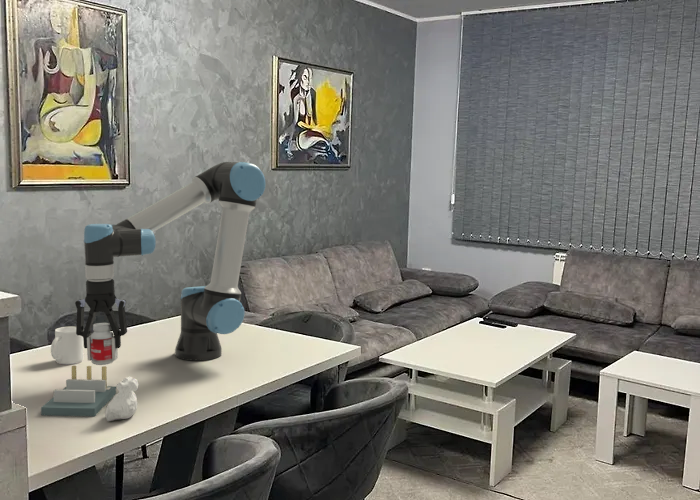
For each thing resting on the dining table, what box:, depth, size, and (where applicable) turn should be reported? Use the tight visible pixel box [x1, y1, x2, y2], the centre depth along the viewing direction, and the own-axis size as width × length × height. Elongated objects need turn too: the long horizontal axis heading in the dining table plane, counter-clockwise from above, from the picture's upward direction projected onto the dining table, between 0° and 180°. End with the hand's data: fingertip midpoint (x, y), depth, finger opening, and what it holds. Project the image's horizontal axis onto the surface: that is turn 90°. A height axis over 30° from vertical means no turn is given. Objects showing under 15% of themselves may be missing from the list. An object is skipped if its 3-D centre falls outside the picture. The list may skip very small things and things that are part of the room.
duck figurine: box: [104, 376, 139, 422], centre depth 173 cm, size 12×8×11 cm
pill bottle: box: [90, 322, 115, 366], centre depth 199 cm, size 6×6×11 cm
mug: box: [50, 325, 85, 366], centre depth 218 cm, size 12×8×10 cm
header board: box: [40, 365, 117, 417], centre depth 181 cm, size 13×18×8 cm
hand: (102, 358), depth 199 cm, fingers closed on pill bottle, 6 cm apart
